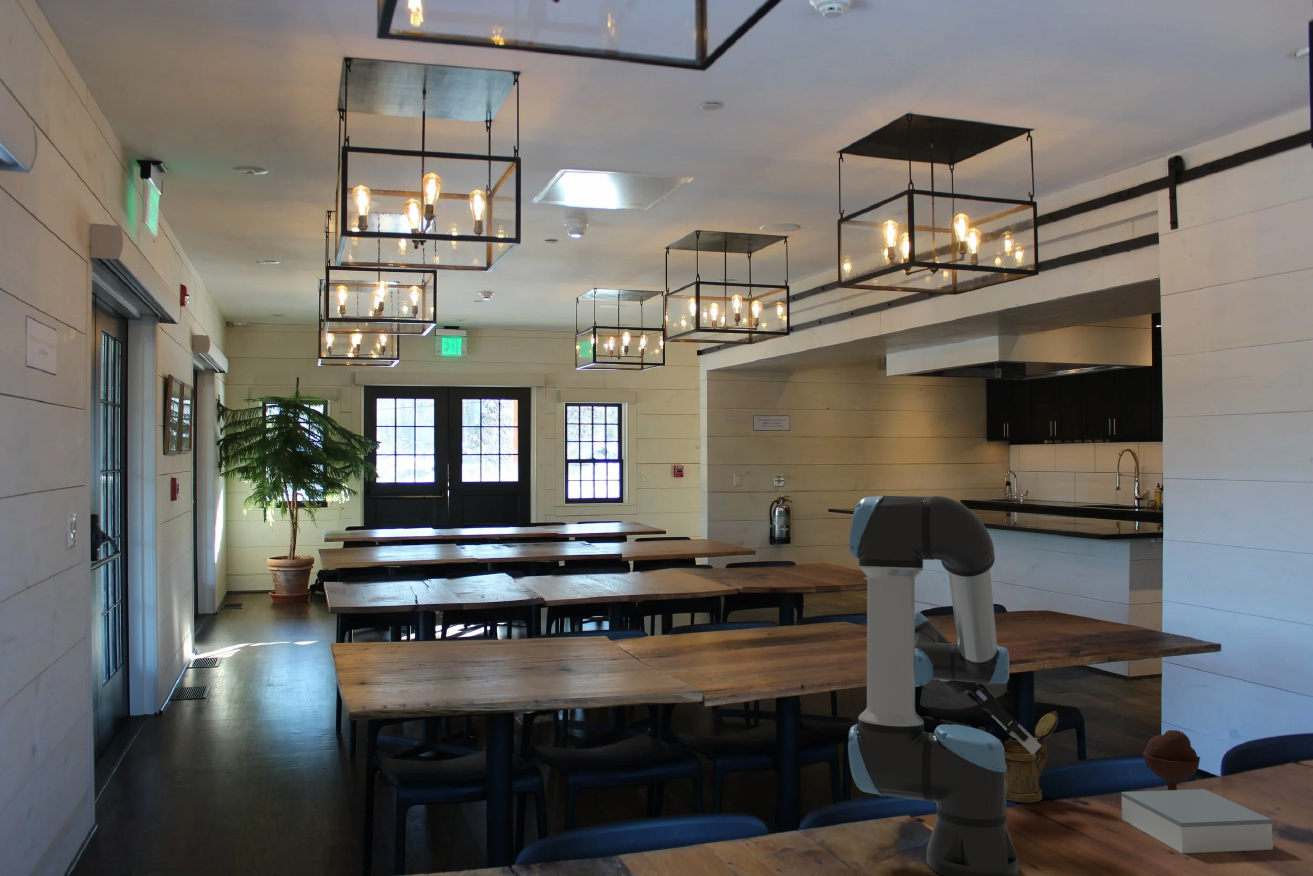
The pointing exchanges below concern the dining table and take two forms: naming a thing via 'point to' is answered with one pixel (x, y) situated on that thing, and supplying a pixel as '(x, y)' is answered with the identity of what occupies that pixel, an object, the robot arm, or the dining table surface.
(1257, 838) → the grey flat block
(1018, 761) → the wooden mug
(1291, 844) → the dining table surface
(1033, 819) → the dining table surface
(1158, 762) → the ice cream bowl
